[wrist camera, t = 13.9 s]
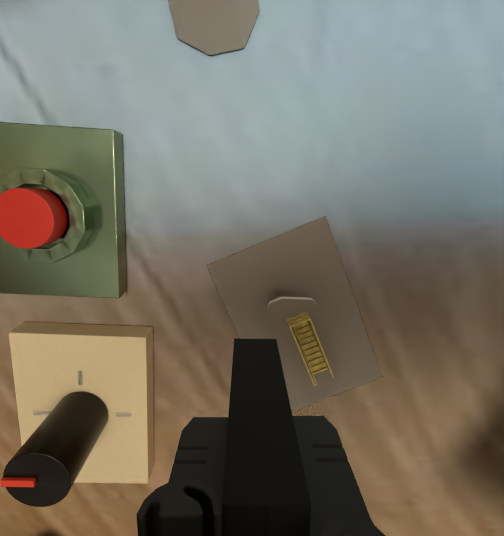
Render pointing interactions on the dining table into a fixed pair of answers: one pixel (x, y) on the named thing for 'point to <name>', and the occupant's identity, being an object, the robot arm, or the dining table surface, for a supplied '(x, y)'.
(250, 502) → the robot arm
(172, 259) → the dining table surface
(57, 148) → the button housing
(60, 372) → the timer panel
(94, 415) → the dial
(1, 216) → the button
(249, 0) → the flask
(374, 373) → the platform
